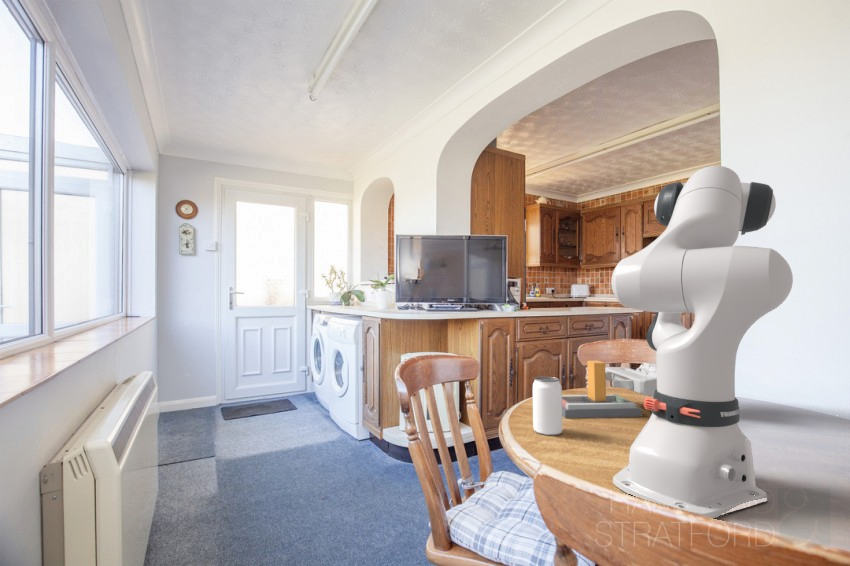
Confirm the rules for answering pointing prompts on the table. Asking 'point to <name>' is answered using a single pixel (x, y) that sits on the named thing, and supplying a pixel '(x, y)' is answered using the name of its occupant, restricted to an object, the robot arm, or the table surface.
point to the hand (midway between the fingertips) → (602, 379)
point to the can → (547, 406)
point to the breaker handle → (596, 383)
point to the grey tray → (598, 407)
